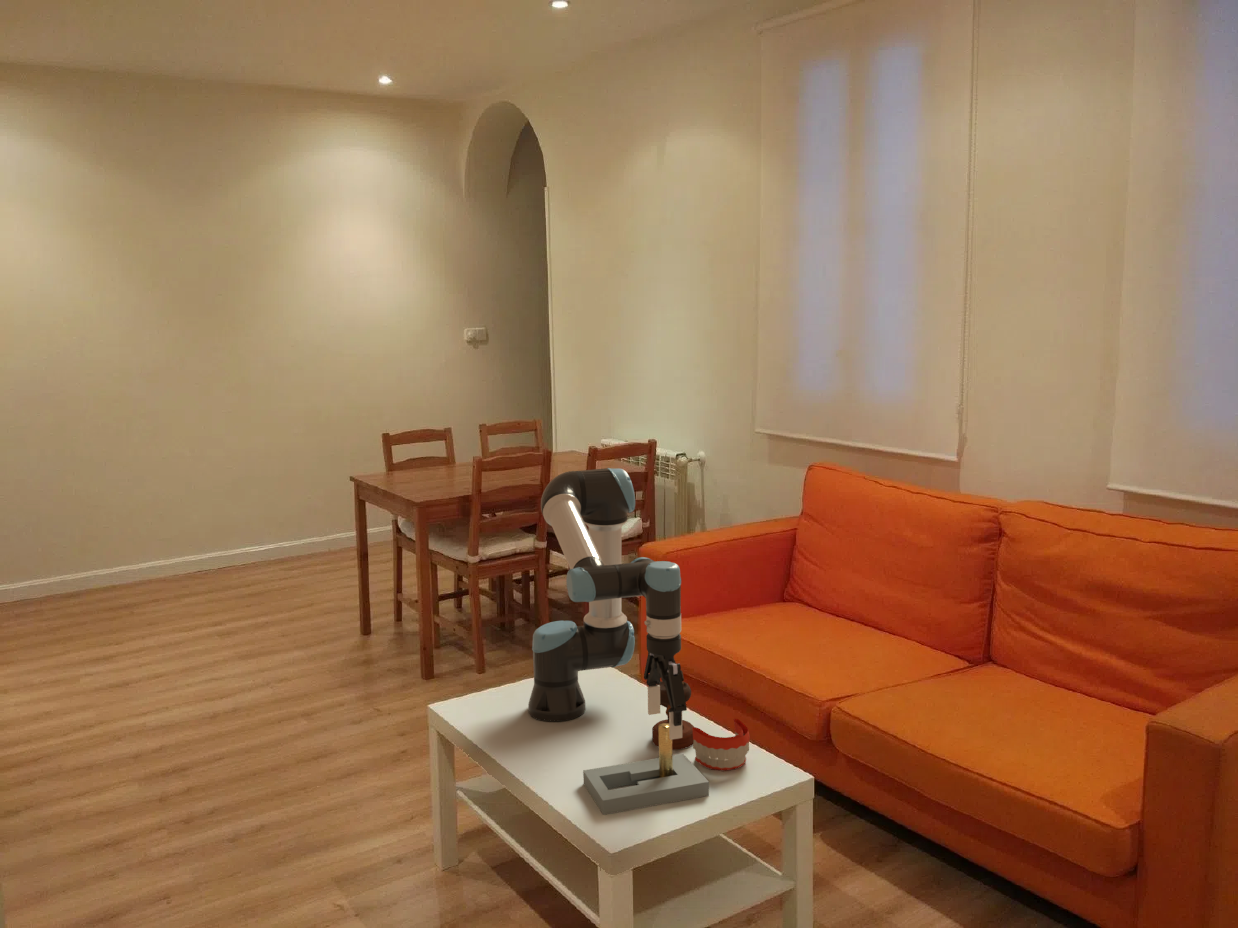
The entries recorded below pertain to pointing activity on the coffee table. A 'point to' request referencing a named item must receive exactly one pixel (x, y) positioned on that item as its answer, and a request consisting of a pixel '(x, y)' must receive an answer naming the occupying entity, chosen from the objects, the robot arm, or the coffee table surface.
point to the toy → (722, 748)
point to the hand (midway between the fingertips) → (664, 725)
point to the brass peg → (665, 751)
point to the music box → (686, 726)
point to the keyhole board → (644, 784)
